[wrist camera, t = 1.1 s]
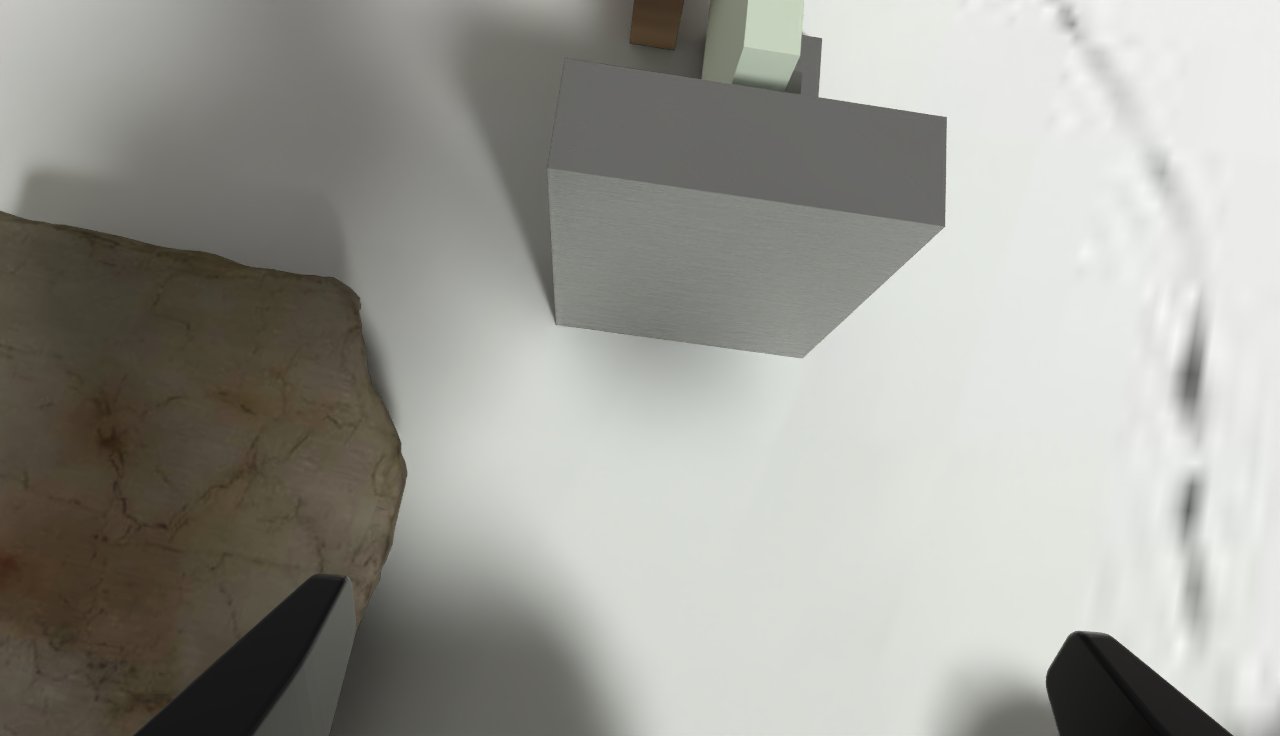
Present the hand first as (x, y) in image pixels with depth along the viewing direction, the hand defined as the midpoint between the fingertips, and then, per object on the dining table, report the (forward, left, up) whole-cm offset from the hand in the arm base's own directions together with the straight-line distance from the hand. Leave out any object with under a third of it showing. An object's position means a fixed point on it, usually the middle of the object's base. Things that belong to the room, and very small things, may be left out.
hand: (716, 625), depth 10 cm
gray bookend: (+9, -10, -14) cm, 19 cm away
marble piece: (+11, +10, -14) cm, 21 cm away
